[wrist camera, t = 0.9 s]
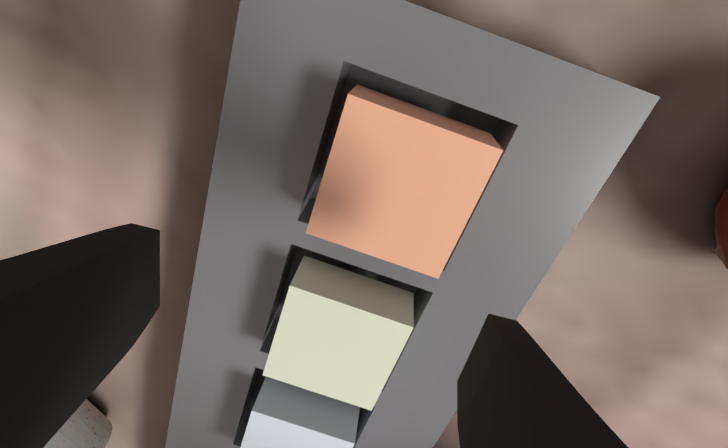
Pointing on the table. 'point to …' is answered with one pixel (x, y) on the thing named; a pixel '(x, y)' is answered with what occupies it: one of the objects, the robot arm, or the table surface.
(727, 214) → the fruit
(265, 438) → the key bluegrey
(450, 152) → the key terracotta
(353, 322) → the key sage
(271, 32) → the keypad
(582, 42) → the table surface
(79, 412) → the ceramic mug
